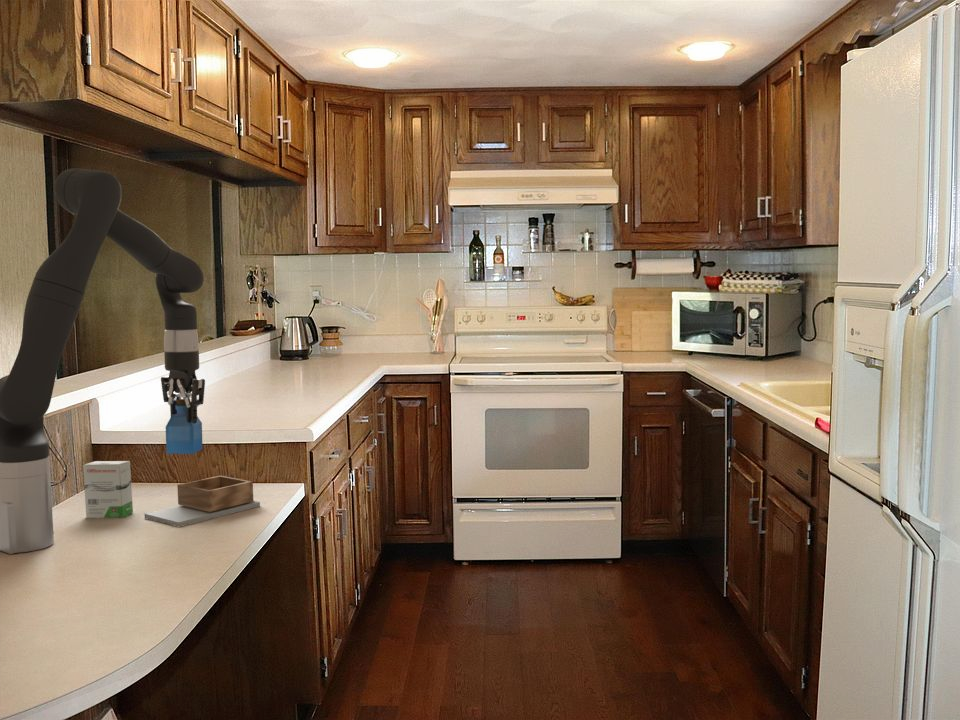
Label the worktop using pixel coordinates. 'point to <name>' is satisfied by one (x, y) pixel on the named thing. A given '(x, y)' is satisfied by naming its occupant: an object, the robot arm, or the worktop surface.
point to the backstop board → (194, 513)
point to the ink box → (108, 489)
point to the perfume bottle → (183, 432)
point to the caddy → (215, 493)
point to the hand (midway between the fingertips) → (183, 422)
